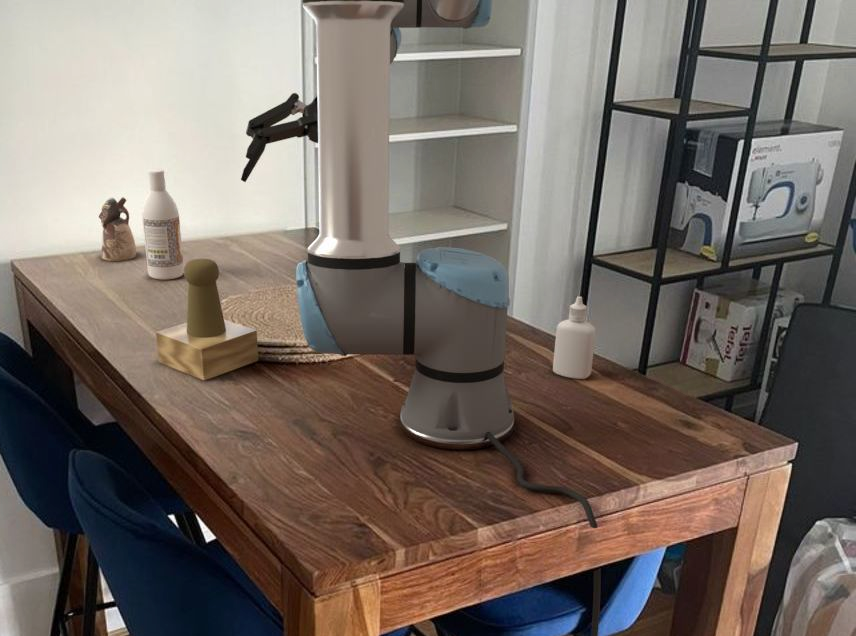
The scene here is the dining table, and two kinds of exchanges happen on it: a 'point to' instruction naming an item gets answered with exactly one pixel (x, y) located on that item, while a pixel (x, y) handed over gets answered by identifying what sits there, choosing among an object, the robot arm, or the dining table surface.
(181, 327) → the riser block
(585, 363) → the eye dropper bottle
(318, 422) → the dining table surface
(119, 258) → the figurine
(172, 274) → the bath foam
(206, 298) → the olive green peg figure
